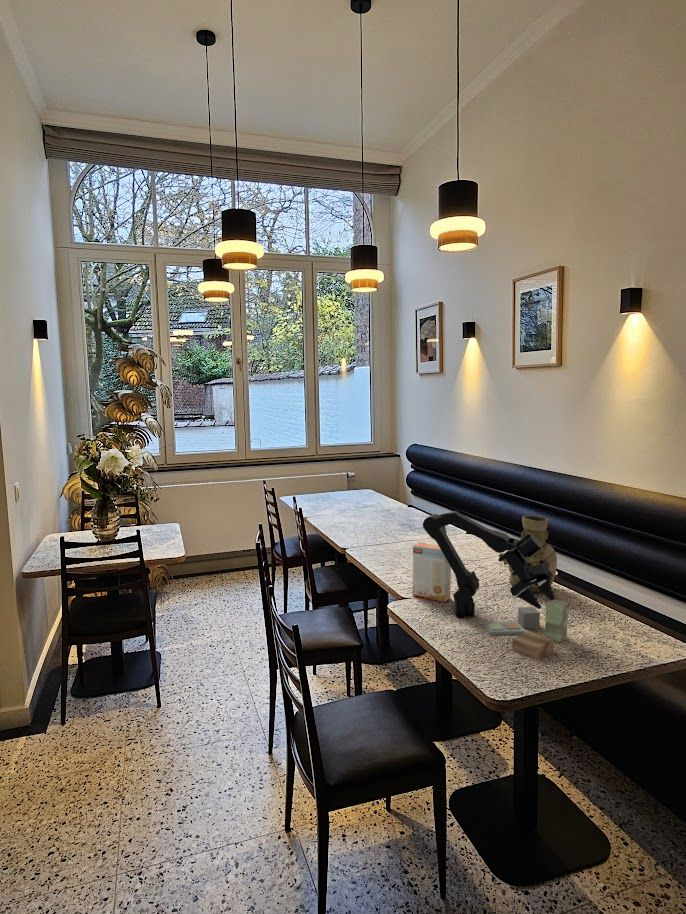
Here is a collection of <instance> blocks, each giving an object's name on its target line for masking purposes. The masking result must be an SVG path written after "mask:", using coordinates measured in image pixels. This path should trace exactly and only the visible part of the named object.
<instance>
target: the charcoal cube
mask: <svg viewBox="0 0 686 914" xmlns="http://www.w3.org/2000/svg"><path fill="white" fill-rule="evenodd" d="M540 614H541V613H540V612H539V610H537V608H536V607H534V606H526V607H525V606H523V607H521V606H520V607H518V609H517V623H518V624H519V625H520V626H521V627H522V629H523V630H524V629H540V617H541V616H540Z"/></svg>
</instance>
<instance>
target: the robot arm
mask: <svg viewBox="0 0 686 914" xmlns="http://www.w3.org/2000/svg"><path fill="white" fill-rule="evenodd" d="M452 524H453V525H454V526H457V527H459V528H460V529H462V530H464V531H466V532H468V533H469V534H471V535H473V536H475V537H477V538H478V539H480V540H481V541H483V542H484V544H485V545H486V546H488V547H489V548H490V549H491V550H492V551H494V552H495V553H497V554H498V555H499V557H498V562H504V560H506V562H507V563H508V564H507V565H509V566H510V568H511V569H512V570H513V573H512V575H513V576H515V575H516V576H517V577H518V579H519V580H520V581H519V582H517V583H516V584H515V585H514V586H512V585H511V587H510V589H509V593H510V594H511V595H512V597H516V598H517V599H518V598H519V599H520V600H523V601H525V602H526V603H527V604H529V605H531V606H532V607H534V608H535V609H538V610H540V609H541V608H542V606H541V603H540V602H539V601H538V599H537V596H535V593H533V592H532V585H534V584H535V585H536V586H539V587H537V588H538V589H539V590H540V591H541V592H542V594H543V595H544V596H545V597H546V598H547V599H549V600H550V601H552V600H556V597H555V594H554V590H553V589H552V585H551V580H552V579H553V578H551V577H553V574H552V573H551V572H550V571H549V566H550V564H549V563H548V562H547V561H546V560H545V559H543V560H540V561H539V564H536V565H533V564H532V563H530V562H529V563H527V561H526V560H525V559H524V557H529V558H530V557H531V556H533V555H534V554H535V553H537V552H538V551H540V550H541V549H542V548H543V546H542V544H541V542H540V541H539V540H538V538H536V537H535V536H533V535H531V534H530V533H528V534H526V535H525V537H523V538H522V539H521V540H520V539H517V538H514V537H510V536H509V535H508V534H507V533H504V532H501V531H499V530H494V529H490V528H487V527H485V526H484V525H482V524H480V523H478V522H477V521H475V520H473V519H472V518H469V517H467V516H466V515H464V514H461V512H459V511H458V510H453V511H451V512H446V513H441V514H437V513H433V514H431V515H429V516H428V517H426V518H425V519H424V520H423V522H422V527H423V530H424V531H425V532H426V534H427V535H428V536H429V537H430V538H432V539H433V540H434V541H435V542H436V543H437V544H436V545H439V547H440V549H441V551H442V553H443V554H444V556H445V558H446V560H447V561H448V563H449V565H450V567H451V571H452V572H453V574H454V575H455V580H456V585H457V587H458V589H457V590H456V591H455V593H453V595H452V596H453V597H452V598H453V600H454V601H453V602H454V604H453V605H454V606H453V608H454V609H452V612H453V614H454V615H455V617H456V618H459V619H460V618H475V609H476V607H475V606H476V603H475V602H474V598H473V597H474V596H475V595H476V594H477V592H478V590H480V579H479V578H478V576H477V575H476V572H475V571H474V570H472V571H471V572H470V570H468V569H467V568H466V566H465V564H464V562H463V561H462V559H461V557H460V555H459V554H458V552H457V550H456V548H455V547H454V545H453V543H452V542H451V540H450V538H449V536H448V534H447V529H446V526H448V525H452ZM514 548H515V549H514ZM513 549H514V550H513ZM503 553H504V554H503ZM522 555H523V556H524V557H523V556H522ZM530 586H531V587H530Z"/></svg>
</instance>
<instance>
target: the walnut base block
mask: <svg viewBox="0 0 686 914" xmlns="http://www.w3.org/2000/svg"><path fill="white" fill-rule="evenodd" d="M511 642H512V643H511V644H512V645H511V646H512V647H511V650H512V651H515V652H517V653H520V654H522V655H525V656H526V657H527V656H528V657H530V658H533V659H535V660H539V659H541V658H543V657H544V656H546V655H548V654H550V653H552V652H554V642H555V641H554V640H553V639H550V638H547V637H545V635H542V634H539V633H536V632H533V631H530V630H526V631H525V633H523V634H518V635H516V636H514V637H513V638H512V640H511Z"/></svg>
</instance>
